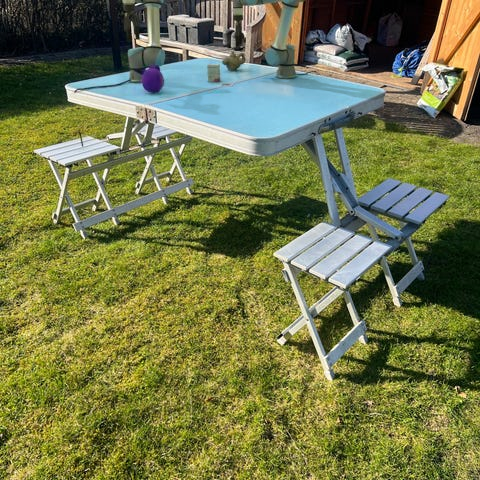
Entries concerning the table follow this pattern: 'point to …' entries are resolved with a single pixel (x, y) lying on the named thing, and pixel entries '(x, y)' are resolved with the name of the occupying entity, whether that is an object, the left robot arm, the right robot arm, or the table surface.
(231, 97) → the table surface
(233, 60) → the teapot
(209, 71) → the ink box
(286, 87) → the table surface
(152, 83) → the toy
